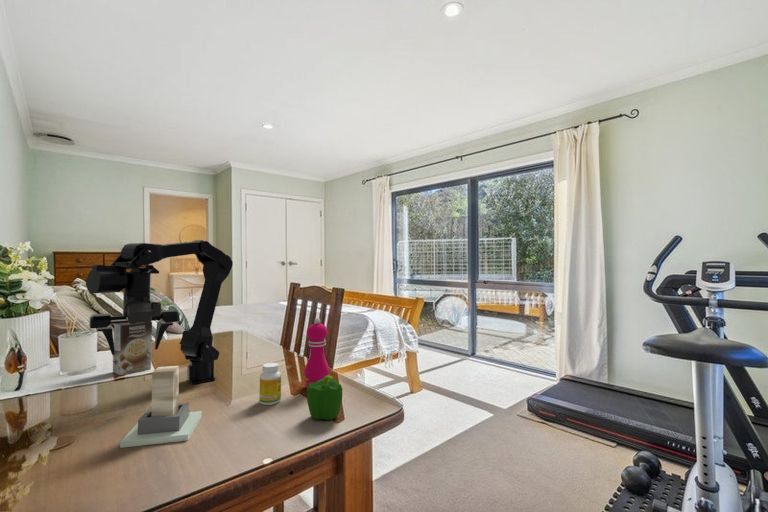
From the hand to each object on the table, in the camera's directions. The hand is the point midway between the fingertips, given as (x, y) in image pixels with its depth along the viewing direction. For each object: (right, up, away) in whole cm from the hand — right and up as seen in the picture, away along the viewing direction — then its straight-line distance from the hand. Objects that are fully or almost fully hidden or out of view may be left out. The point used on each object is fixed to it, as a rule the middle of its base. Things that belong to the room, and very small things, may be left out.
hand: (135, 352), depth 94 cm
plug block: (+17, -12, -15) cm, 26 cm away
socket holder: (+17, -13, -15) cm, 26 cm away
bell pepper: (+50, -13, -8) cm, 52 cm away
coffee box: (-19, -14, +27) cm, 36 cm away
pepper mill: (+45, -14, +12) cm, 48 cm away
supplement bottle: (+35, -13, +1) cm, 37 cm away
